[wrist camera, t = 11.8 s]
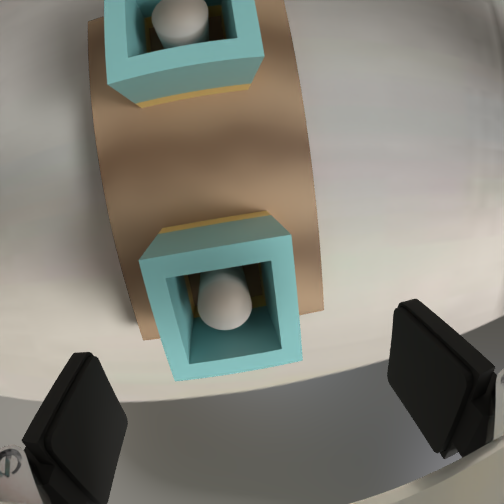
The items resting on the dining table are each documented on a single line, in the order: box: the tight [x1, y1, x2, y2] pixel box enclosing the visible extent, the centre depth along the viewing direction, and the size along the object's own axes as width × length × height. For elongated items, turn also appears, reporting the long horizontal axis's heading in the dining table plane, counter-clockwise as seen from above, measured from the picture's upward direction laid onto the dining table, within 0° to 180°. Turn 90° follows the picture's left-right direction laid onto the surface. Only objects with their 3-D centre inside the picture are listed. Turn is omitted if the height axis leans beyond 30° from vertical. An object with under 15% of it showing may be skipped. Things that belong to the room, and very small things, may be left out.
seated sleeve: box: [104, 0, 264, 108], centre depth 12 cm, size 6×6×6 cm
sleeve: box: [139, 211, 303, 381], centre depth 16 cm, size 6×6×6 cm
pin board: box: [88, 0, 324, 340], centre depth 15 cm, size 21×12×7 cm, turn 8°
